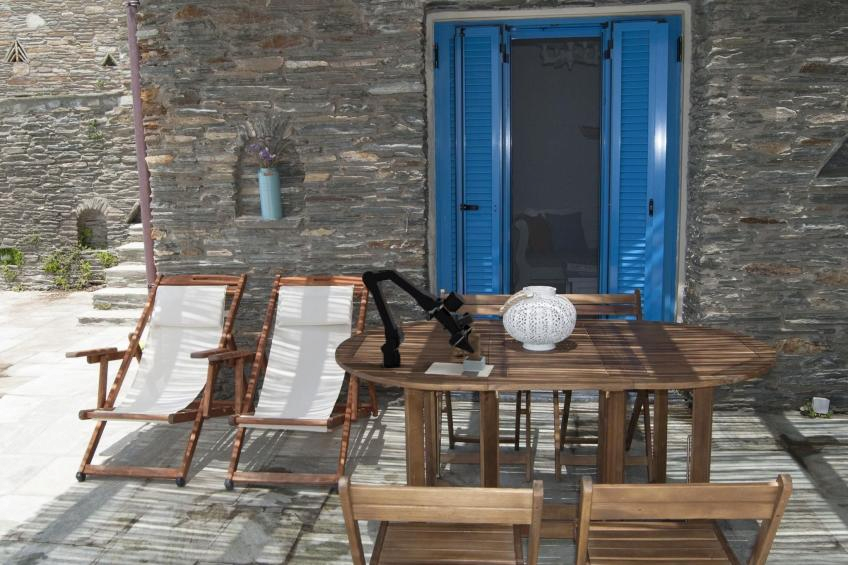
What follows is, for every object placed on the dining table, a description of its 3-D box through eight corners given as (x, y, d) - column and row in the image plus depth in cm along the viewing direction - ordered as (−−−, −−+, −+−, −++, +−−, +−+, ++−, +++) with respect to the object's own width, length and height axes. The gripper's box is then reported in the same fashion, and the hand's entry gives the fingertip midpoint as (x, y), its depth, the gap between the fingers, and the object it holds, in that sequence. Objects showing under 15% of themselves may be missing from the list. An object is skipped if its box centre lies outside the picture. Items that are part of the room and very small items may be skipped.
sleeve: (463, 369, 299) (463, 360, 299) (467, 364, 306) (466, 355, 306) (482, 370, 298) (482, 361, 297) (485, 365, 304) (485, 356, 304)
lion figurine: (463, 361, 315) (463, 340, 313) (451, 360, 317) (451, 338, 316) (478, 353, 327) (478, 332, 326) (467, 352, 330) (466, 331, 328)
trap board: (424, 375, 295) (424, 373, 295) (434, 364, 310) (434, 362, 310) (487, 379, 289) (487, 376, 289) (494, 367, 305) (494, 365, 305)
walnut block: (468, 368, 300) (468, 335, 298) (470, 365, 304) (470, 333, 302) (478, 369, 300) (478, 336, 297) (480, 366, 303) (480, 333, 301)
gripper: (456, 311, 290) (486, 341, 289) (466, 301, 308) (494, 330, 307) (436, 331, 293) (465, 361, 293) (447, 320, 311) (474, 349, 310)
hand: (476, 349), depth 301 cm, fingers open, 9 cm apart
